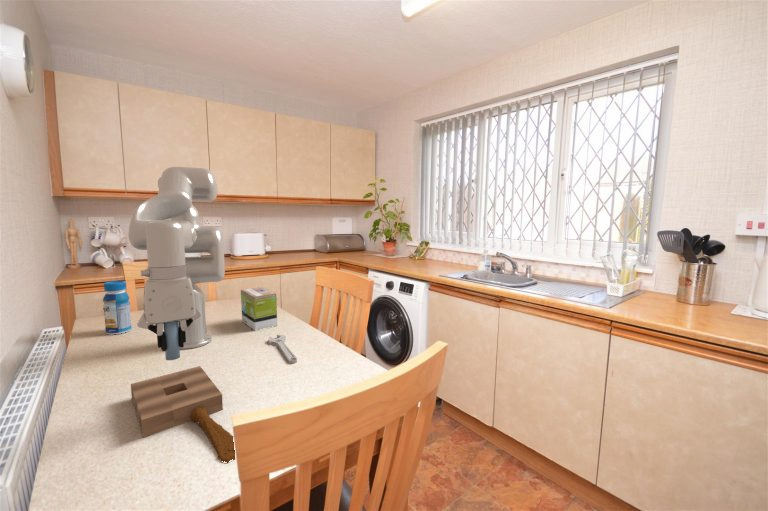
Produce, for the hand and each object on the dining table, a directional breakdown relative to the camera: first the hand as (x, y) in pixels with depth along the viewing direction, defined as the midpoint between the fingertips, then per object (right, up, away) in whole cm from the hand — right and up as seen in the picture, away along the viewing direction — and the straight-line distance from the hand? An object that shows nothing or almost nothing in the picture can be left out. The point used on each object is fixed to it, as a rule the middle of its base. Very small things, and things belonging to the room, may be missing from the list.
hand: (172, 347), depth 83 cm
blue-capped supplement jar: (-54, -8, +52) cm, 75 cm away
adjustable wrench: (+16, -11, +37) cm, 41 cm away
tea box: (-2, -8, +63) cm, 64 cm away
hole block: (0, -15, +2) cm, 15 cm away
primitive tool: (+16, -17, -10) cm, 25 cm away
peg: (0, -3, 0) cm, 3 cm away
